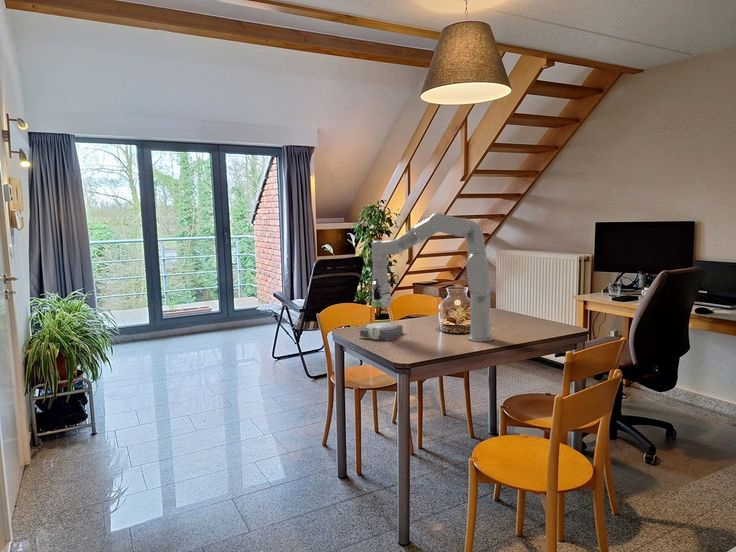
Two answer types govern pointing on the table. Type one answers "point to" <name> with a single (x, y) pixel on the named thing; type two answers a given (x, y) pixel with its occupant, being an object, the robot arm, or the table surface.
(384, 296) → the ink box
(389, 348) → the table surface
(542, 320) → the table surface
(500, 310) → the table surface
